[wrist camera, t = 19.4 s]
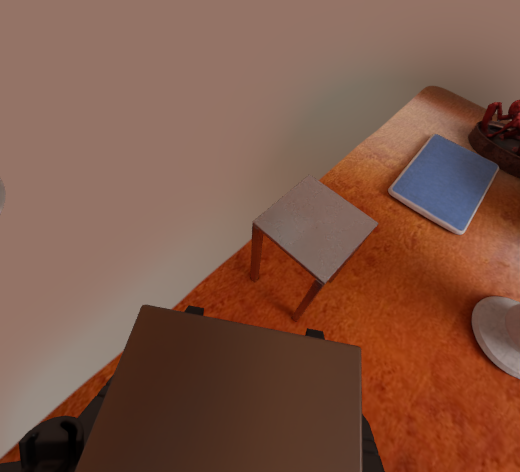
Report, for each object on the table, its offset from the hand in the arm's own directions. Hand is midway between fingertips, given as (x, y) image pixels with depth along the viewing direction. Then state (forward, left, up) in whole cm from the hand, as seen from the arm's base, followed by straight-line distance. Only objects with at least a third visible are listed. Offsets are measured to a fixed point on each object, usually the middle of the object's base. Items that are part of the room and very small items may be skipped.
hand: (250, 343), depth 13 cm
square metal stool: (+8, +10, -20) cm, 23 cm away
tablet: (+38, +22, -20) cm, 48 cm away
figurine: (+53, +27, -20) cm, 63 cm away
